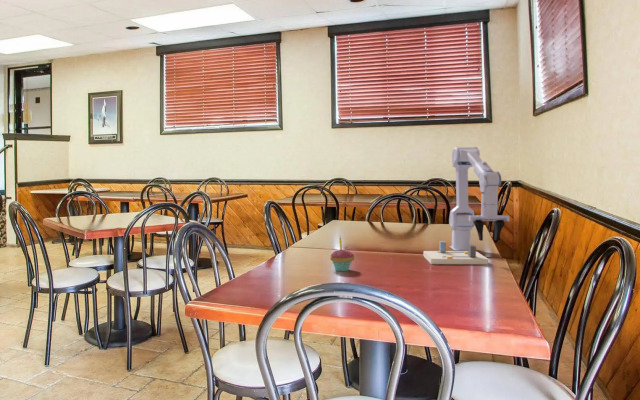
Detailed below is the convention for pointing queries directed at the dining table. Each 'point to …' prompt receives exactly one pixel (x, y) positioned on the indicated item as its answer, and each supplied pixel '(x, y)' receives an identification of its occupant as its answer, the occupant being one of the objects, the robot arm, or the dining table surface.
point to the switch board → (454, 257)
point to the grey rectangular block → (442, 246)
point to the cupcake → (342, 259)
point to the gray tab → (471, 250)
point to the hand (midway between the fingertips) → (488, 240)
